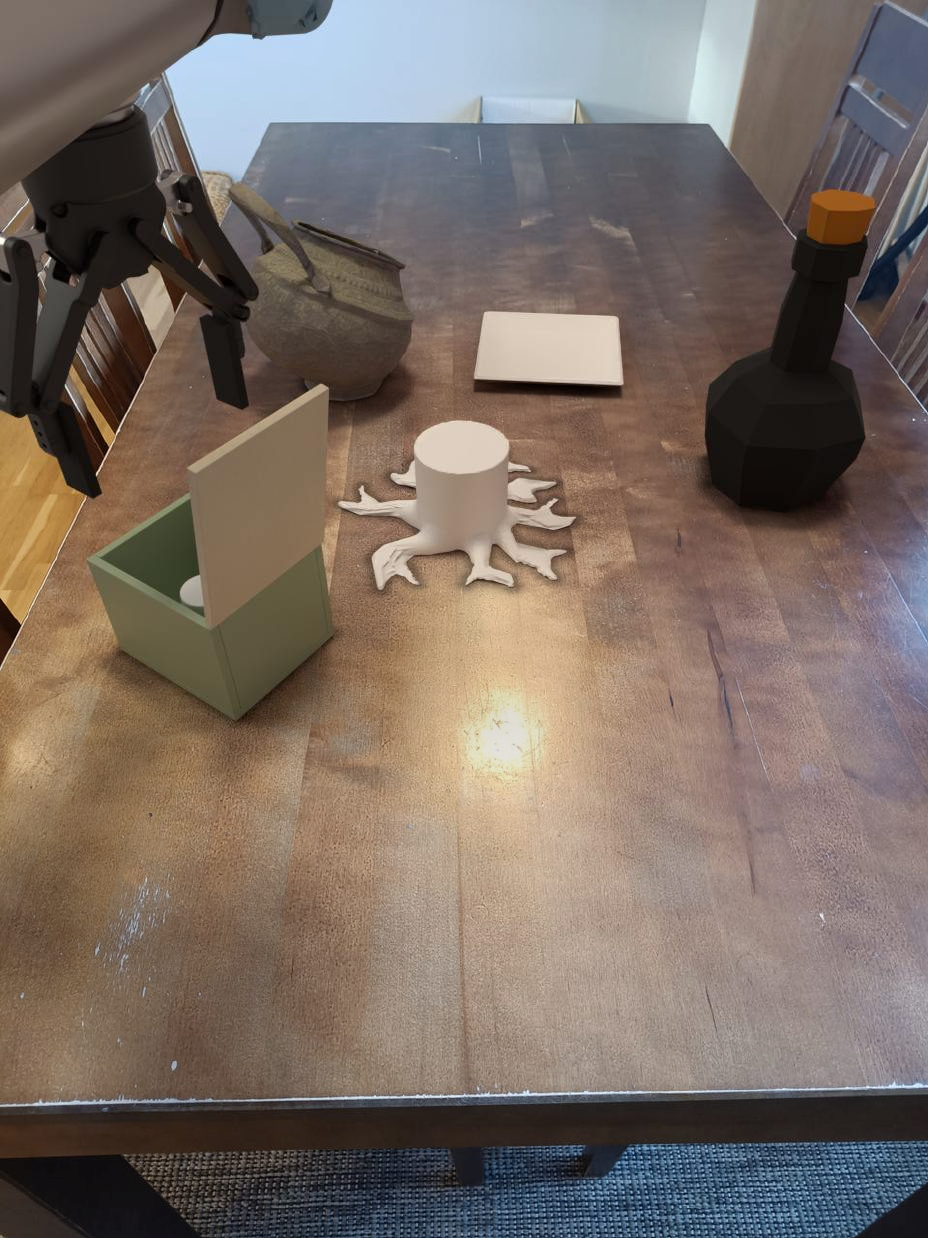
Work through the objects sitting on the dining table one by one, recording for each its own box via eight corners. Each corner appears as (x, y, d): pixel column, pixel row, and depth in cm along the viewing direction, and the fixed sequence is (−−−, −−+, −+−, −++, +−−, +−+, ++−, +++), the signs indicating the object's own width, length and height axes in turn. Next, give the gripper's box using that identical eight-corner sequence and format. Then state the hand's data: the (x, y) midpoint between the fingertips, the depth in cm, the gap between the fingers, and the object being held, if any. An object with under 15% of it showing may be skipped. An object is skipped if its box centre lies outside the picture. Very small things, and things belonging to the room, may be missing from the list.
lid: (185, 467, 56) (195, 473, 56) (320, 382, 63) (329, 387, 63) (205, 623, 67) (213, 629, 67) (317, 536, 75) (324, 541, 75)
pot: (254, 434, 107) (213, 217, 89) (256, 351, 121) (221, 151, 104) (426, 419, 109) (418, 205, 91) (408, 339, 123) (398, 141, 106)
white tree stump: (598, 579, 88) (609, 502, 81) (342, 602, 86) (332, 525, 79) (552, 449, 104) (558, 377, 97) (336, 466, 102) (327, 392, 95)
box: (121, 650, 81) (85, 559, 74) (222, 574, 89) (199, 484, 81) (236, 721, 75) (210, 630, 68) (334, 634, 83) (321, 543, 75)
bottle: (866, 518, 95) (980, 229, 74) (716, 530, 93) (788, 239, 72) (807, 435, 106) (890, 164, 85) (672, 445, 105) (723, 172, 84)
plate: (616, 329, 126) (618, 314, 124) (621, 398, 112) (623, 383, 111) (483, 323, 127) (484, 309, 125) (473, 391, 113) (473, 376, 112)
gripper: (196, 55, 58) (250, 359, 73) (-193, 156, 43) (-26, 512, 58) (281, 72, 55) (320, 385, 69) (-106, 187, 40) (47, 554, 55)
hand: (163, 443), depth 64 cm, fingers open, 13 cm apart
